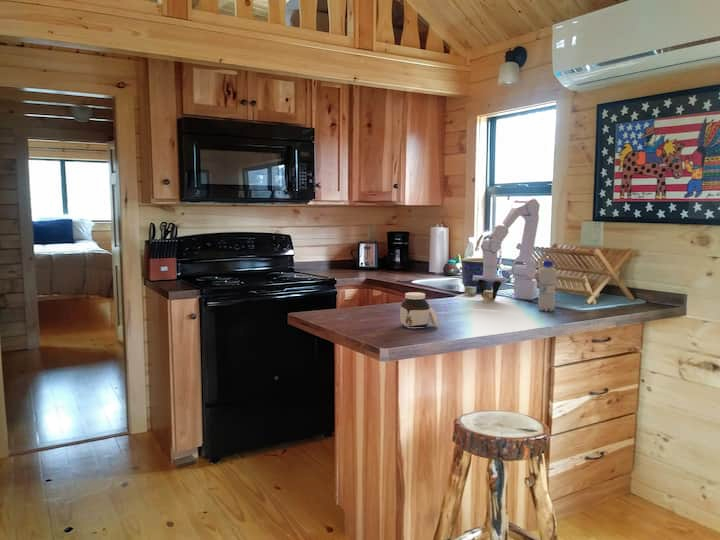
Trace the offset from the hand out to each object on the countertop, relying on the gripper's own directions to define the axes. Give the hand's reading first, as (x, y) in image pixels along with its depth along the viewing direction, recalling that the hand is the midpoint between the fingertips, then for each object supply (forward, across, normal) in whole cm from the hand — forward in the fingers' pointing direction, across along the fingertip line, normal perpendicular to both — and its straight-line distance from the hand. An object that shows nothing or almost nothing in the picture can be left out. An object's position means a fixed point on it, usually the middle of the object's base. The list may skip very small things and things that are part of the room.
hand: (489, 298), depth 249 cm
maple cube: (+1, 0, 0) cm, 1 cm away
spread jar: (+2, -4, -61) cm, 61 cm away
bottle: (+2, +26, -8) cm, 27 cm away
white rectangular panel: (+2, -6, +4) cm, 7 cm away
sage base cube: (+1, -11, +7) cm, 13 cm away
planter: (+2, -13, +24) cm, 27 cm away
